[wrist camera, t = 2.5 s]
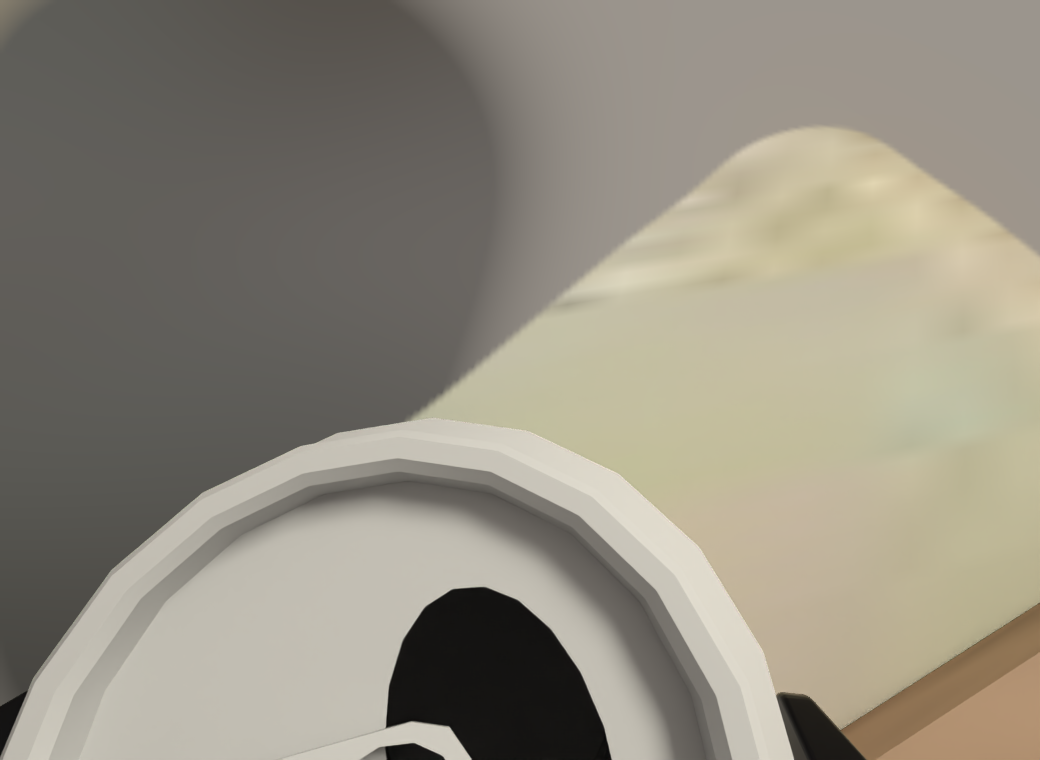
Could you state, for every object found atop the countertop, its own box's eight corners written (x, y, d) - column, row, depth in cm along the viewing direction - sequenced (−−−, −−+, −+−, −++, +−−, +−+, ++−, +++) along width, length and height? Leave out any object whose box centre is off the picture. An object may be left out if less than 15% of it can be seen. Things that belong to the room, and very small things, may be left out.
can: (697, 810, 14) (1190, 1395, 3) (385, 929, 14) (-299, 2130, 3) (585, 505, 17) (646, 266, 6) (324, 592, 17) (-129, 501, 6)
